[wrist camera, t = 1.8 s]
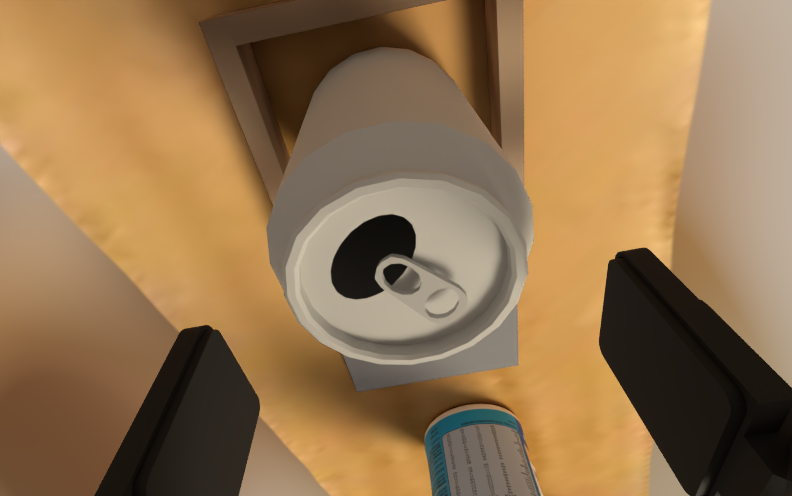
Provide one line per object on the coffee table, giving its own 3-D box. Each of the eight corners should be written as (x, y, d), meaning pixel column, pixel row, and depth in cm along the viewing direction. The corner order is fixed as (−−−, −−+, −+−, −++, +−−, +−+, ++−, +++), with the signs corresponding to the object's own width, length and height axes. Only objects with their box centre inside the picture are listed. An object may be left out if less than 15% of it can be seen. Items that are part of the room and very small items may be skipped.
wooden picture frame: (214, 15, 17) (198, 22, 16) (507, -50, 16) (523, -50, 15) (304, 249, 24) (300, 271, 22) (513, 210, 23) (524, 230, 22)
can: (357, 5, 17) (347, 73, 7) (495, 101, 20) (623, 246, 10) (282, 153, 21) (208, 333, 11) (408, 219, 23) (441, 412, 14)
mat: (309, 263, 25) (308, 267, 24) (513, 225, 24) (515, 229, 24) (357, 387, 32) (357, 392, 31) (516, 360, 31) (518, 365, 31)
